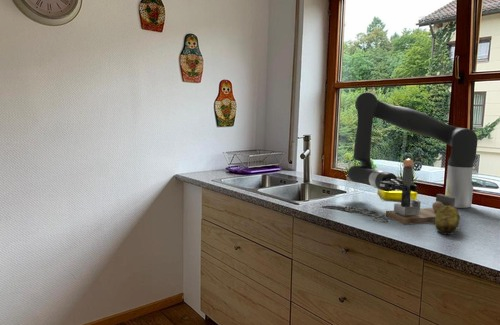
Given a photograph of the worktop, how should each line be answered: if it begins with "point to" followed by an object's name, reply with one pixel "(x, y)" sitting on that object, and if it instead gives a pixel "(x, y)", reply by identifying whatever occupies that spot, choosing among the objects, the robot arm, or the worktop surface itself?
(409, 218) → the base
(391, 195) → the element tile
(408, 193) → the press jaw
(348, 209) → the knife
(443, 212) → the potato
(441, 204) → the walnut
